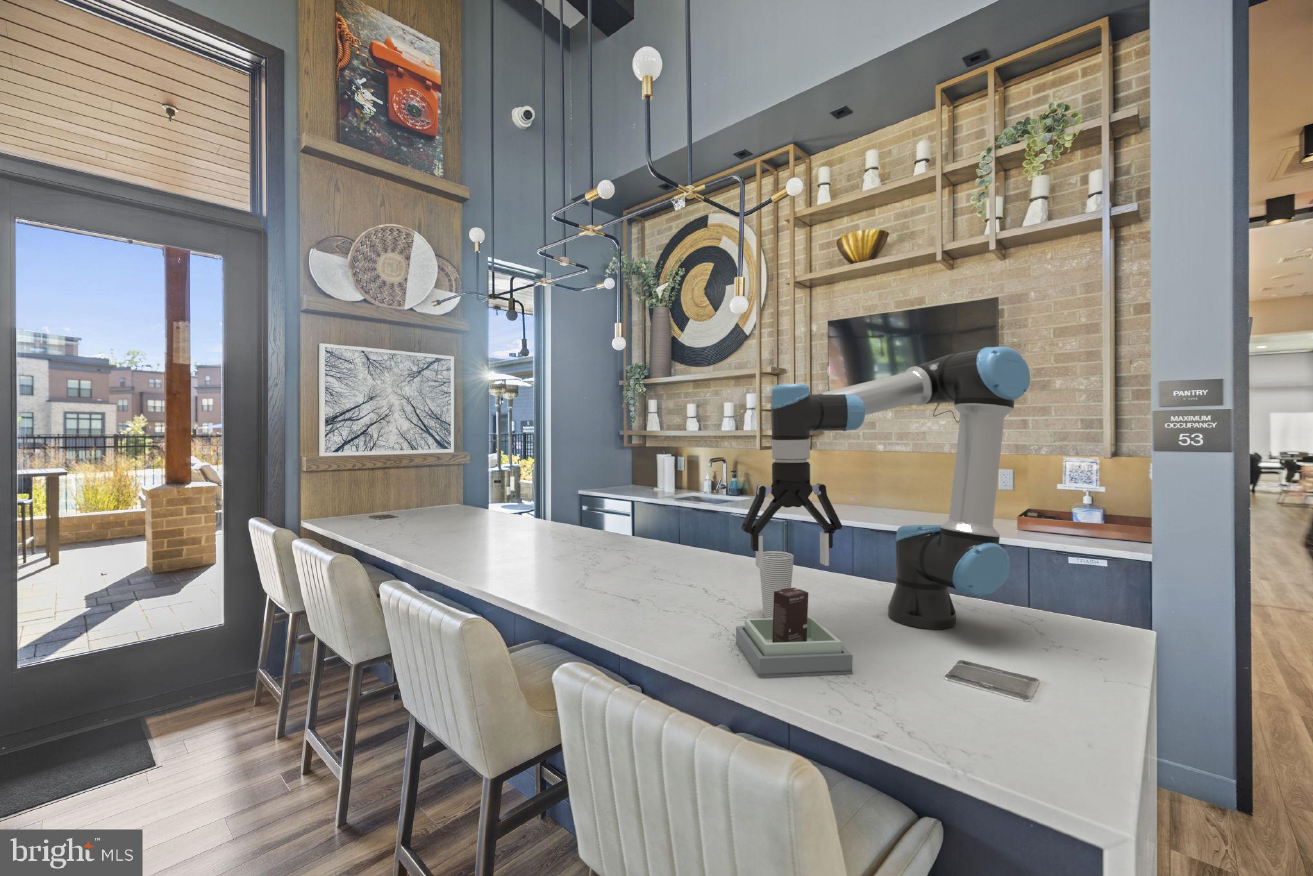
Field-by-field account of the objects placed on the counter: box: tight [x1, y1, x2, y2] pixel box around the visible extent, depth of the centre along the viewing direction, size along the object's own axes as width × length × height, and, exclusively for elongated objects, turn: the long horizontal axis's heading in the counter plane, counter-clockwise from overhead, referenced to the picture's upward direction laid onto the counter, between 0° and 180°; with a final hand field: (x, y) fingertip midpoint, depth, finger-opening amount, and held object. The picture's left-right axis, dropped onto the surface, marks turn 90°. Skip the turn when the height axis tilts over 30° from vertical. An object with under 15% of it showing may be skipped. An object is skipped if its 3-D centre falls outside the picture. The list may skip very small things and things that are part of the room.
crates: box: [735, 616, 853, 679], centre depth 117 cm, size 18×18×6 cm
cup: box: [759, 550, 795, 618], centre depth 142 cm, size 8×8×16 cm
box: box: [772, 587, 809, 643], centre depth 117 cm, size 6×4×12 cm
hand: (792, 565), depth 117 cm, fingers open, 13 cm apart
